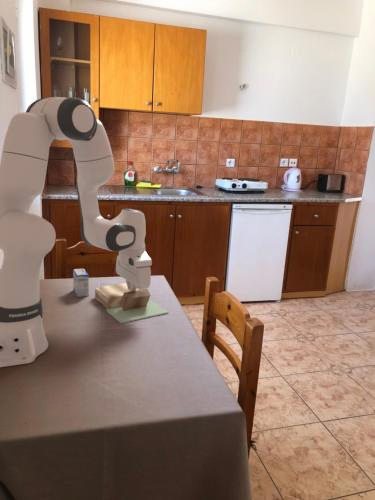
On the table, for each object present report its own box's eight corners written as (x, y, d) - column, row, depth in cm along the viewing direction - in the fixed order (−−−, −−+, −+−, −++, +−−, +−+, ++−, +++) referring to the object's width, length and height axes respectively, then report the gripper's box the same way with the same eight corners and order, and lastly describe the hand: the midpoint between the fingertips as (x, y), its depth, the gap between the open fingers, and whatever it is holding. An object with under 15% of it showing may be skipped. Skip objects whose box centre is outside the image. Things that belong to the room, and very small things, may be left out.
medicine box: (73, 290, 161) (72, 269, 159) (84, 289, 163) (84, 268, 161) (77, 297, 154) (76, 275, 152) (89, 296, 156) (88, 274, 154)
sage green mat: (120, 323, 134) (120, 322, 134) (106, 310, 144) (106, 309, 144) (168, 313, 144) (168, 312, 144) (151, 301, 153) (151, 300, 153)
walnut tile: (120, 304, 145) (123, 310, 143) (123, 292, 141) (127, 299, 139) (143, 300, 150) (146, 306, 148) (147, 288, 146) (150, 294, 144)
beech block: (107, 308, 145) (107, 298, 144) (95, 297, 155) (95, 287, 154) (148, 301, 154) (148, 291, 153) (133, 291, 163) (133, 281, 162)
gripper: (111, 249, 149) (111, 285, 152) (137, 264, 133) (136, 304, 136) (127, 247, 152) (127, 282, 156) (154, 261, 136) (153, 301, 139)
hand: (131, 293), depth 146 cm, fingers closed
